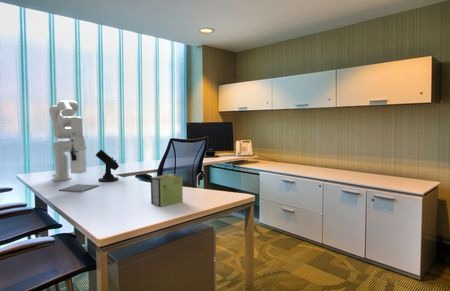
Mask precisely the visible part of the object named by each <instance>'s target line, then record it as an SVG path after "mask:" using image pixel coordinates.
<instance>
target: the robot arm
mask: <svg viewBox="0 0 450 291" xmlns="http://www.w3.org/2000/svg"><path fill="white" fill-rule="evenodd" d="M77 112H79V104H78V102H77V101H75V100H61V101H60V100H59V101H58V102H57V104H56V105H51V106H50V107H49V115H50V118H51V120H52V125H53V126H52V127H53V129H52V130H53V136H54V138H55V139H57V140H56V141H54V142H53V143H52V150H53V155H54V169H55V170H54V171H55V172H54V173H52V177H53V181H54V182H56V181H57V182H58V181H59V182H60V181H61V182H62V181H69V180H71V179H72V177H71V176H70V172H69V170H70V169H69V157H68V155H67V154H66V153H69V154H70V153H71V158H72V161H76V155H75V154H76V151H80V150H85V151H86V149H87V146H86V142H85V137H84V132H83V131H84V127H83V118H82V116H75V115H76V114H77Z"/></svg>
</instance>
